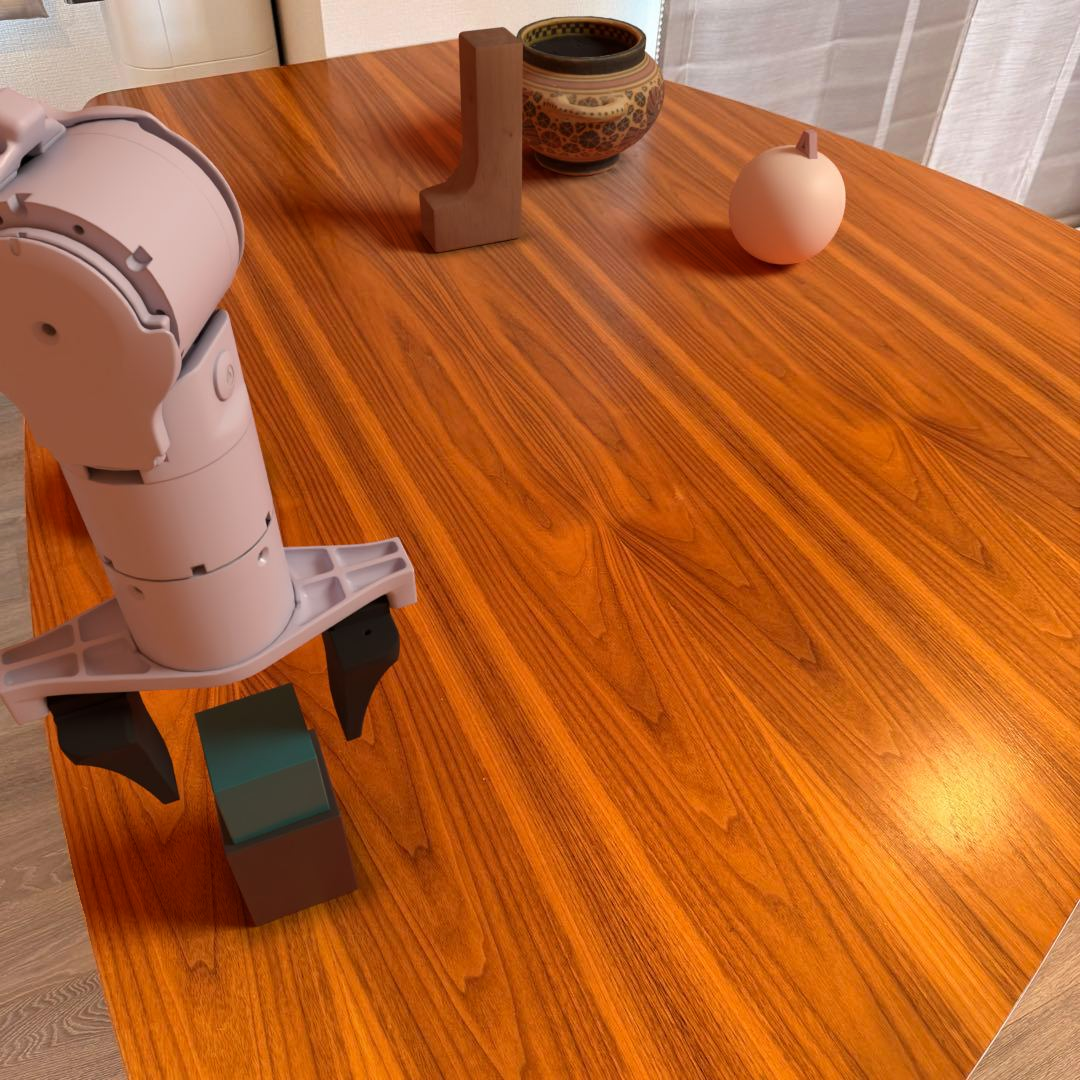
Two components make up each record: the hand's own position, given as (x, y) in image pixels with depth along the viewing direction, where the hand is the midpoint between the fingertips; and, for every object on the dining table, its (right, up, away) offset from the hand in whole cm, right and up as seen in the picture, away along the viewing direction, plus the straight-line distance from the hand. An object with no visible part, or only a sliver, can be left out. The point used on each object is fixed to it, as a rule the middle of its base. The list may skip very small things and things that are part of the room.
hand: (260, 751), depth 41 cm
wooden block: (+5, +39, +54) cm, 67 cm away
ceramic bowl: (+16, +51, +67) cm, 86 cm away
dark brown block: (0, -7, +7) cm, 10 cm away
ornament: (+35, +36, +52) cm, 72 cm away
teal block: (0, -2, +2) cm, 3 cm away
